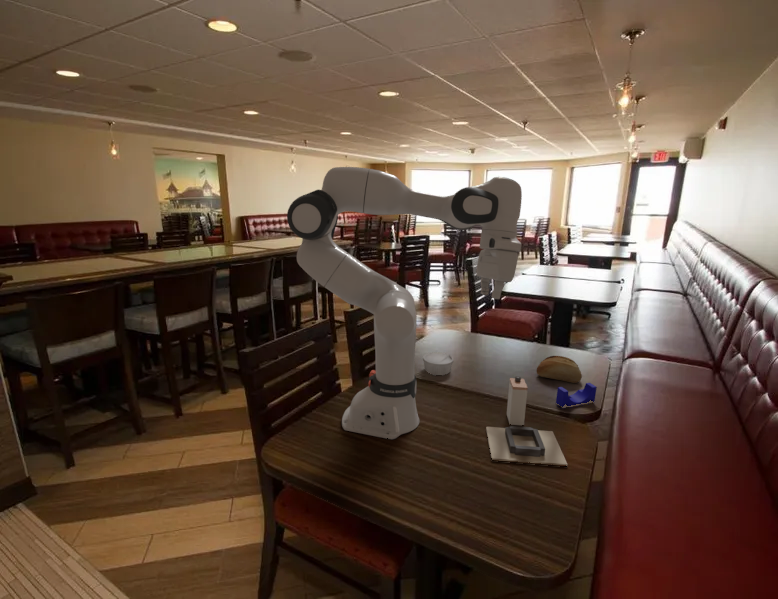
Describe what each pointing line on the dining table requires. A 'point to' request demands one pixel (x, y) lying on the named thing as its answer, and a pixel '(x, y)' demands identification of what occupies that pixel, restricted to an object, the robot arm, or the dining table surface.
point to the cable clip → (576, 395)
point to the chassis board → (524, 445)
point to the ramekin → (437, 363)
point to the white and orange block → (516, 401)
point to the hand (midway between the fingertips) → (489, 296)
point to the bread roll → (559, 369)
